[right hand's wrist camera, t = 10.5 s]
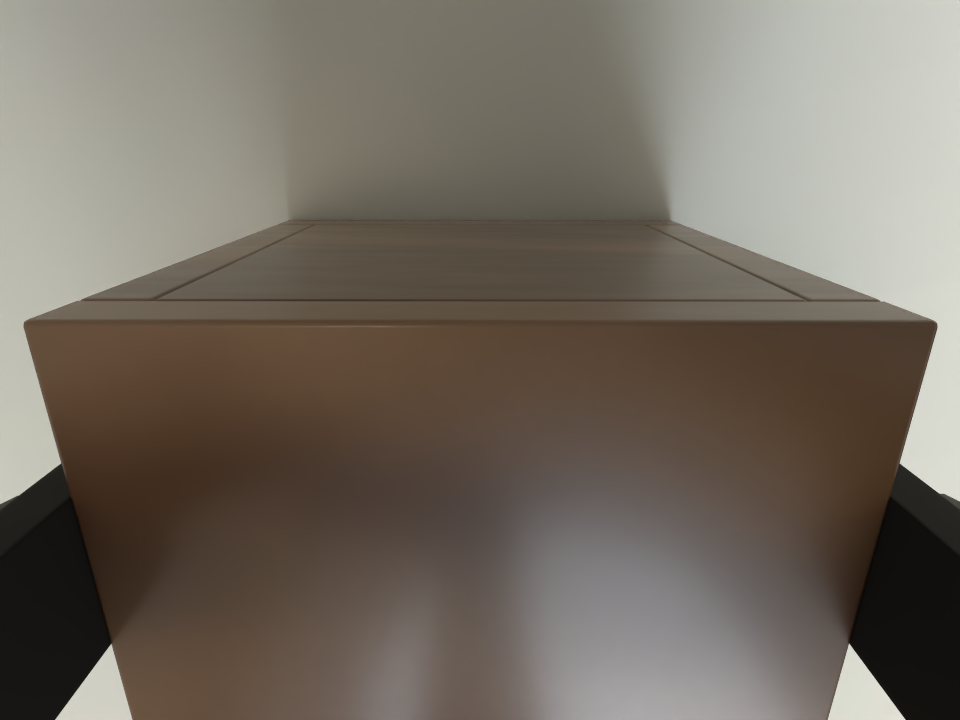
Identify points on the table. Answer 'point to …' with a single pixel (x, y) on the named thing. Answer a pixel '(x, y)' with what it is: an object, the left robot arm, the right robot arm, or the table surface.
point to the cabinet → (480, 472)
